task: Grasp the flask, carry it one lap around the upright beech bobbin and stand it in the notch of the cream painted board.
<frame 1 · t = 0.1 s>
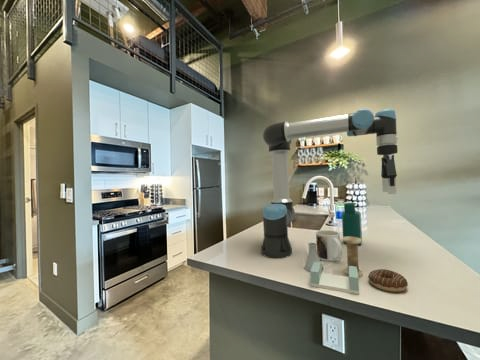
hand: (389, 192, 94), 28 cm above the countertop, fingers open, 13 cm apart
green bottle: (352, 243, 113), on the countertop
donut: (387, 286, 69), on the countertop
bobbin: (353, 273, 78), on the countertop
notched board: (334, 283, 71), on the countertop
flask: (313, 269, 84), on the countertop
mug: (329, 258, 94), on the countertop
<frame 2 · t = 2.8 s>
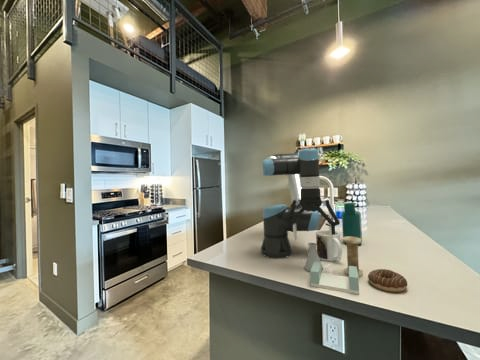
hand: (312, 241, 83), 11 cm above the countertop, fingers open, 13 cm apart
nothing on the countertop moved.
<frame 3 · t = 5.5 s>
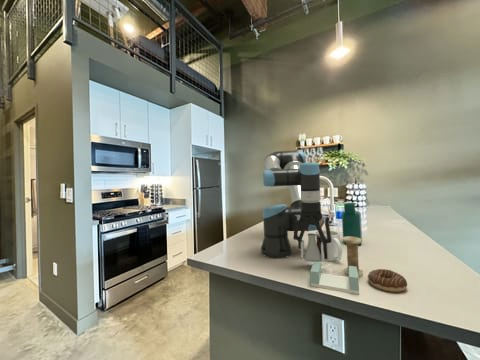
hand: (312, 258, 84), 4 cm above the countertop, fingers closed on flask, 7 cm apart
flask: (312, 259, 85), point 3 cm above the countertop, touching gripper
everything else where it was.
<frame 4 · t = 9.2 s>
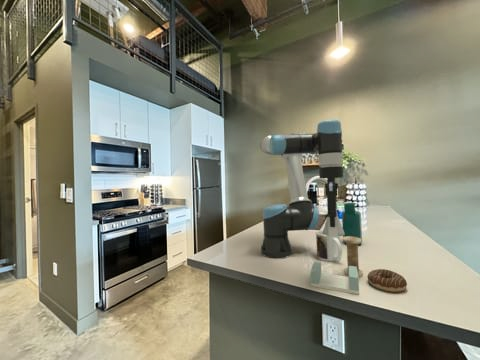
hand: (333, 233, 72), 17 cm above the countertop, fingers closed on flask, 7 cm apart
flask: (333, 234, 72), point 16 cm above the countertop, touching gripper
everything else where it was.
when the fingers open (2 cm above the countertop, at t = 12.9 s): flask stays where it is, resting on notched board.
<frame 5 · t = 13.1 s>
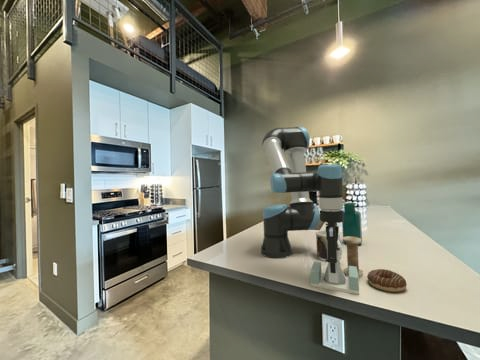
hand: (334, 275, 72), 3 cm above the countertop, fingers open, 10 cm apart
flask: (334, 280, 72), point 1 cm above the countertop, touching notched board
everything else where it was.
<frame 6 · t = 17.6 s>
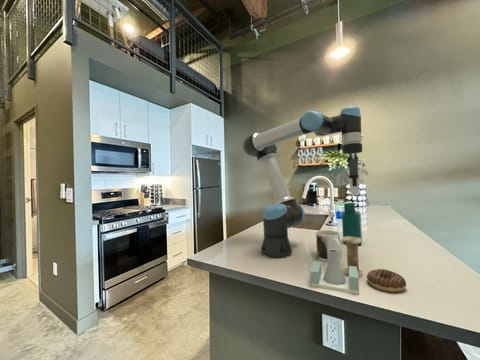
hand: (354, 193, 90), 29 cm above the countertop, fingers open, 13 cm apart
nothing on the countertop moved.
at the end: flask 0.1 cm off-centre on the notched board, point 0.8 cm above the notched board's base; flask tilted 0°; the gripper is holding nothing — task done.
